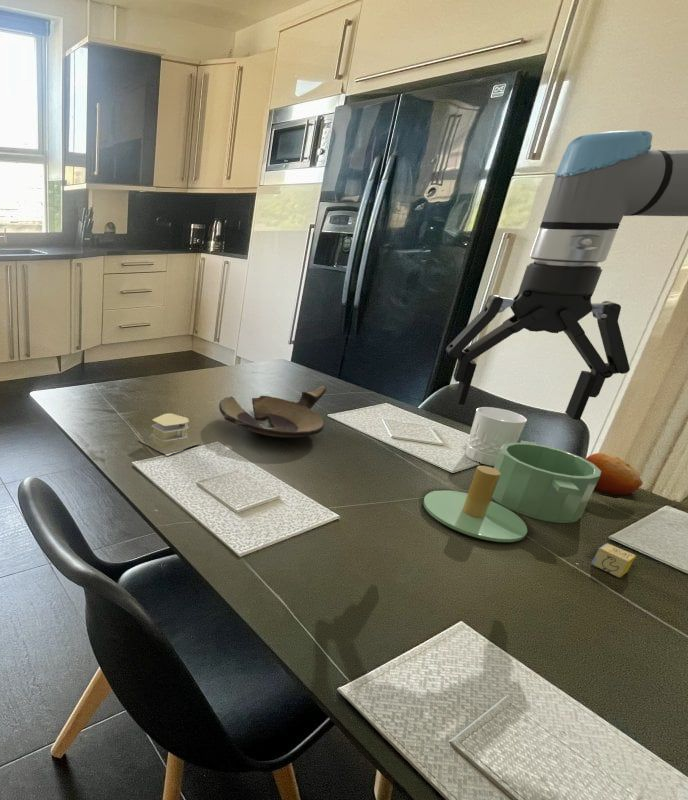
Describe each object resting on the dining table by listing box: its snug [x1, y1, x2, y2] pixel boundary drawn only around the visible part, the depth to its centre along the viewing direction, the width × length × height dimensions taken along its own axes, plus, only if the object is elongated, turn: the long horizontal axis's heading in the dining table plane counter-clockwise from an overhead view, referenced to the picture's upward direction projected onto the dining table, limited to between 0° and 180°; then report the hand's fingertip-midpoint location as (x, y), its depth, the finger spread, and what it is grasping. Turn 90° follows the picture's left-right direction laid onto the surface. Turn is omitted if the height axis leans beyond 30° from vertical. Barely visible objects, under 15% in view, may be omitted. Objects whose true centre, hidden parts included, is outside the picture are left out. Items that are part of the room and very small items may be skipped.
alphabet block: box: [590, 542, 637, 579], centre depth 69 cm, size 3×3×3 cm
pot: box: [491, 440, 601, 524], centre depth 84 cm, size 13×18×8 cm
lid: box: [422, 465, 528, 543], centre depth 78 cm, size 14×14×9 cm
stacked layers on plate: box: [150, 412, 190, 448], centre depth 104 cm, size 10×9×6 cm
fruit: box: [584, 452, 644, 499], centre depth 88 cm, size 8×8×8 cm
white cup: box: [465, 406, 528, 467], centre depth 98 cm, size 8×8×10 cm
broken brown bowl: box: [218, 385, 328, 438], centre depth 111 cm, size 22×30×8 cm
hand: (513, 409), depth 73 cm, fingers open, 13 cm apart
